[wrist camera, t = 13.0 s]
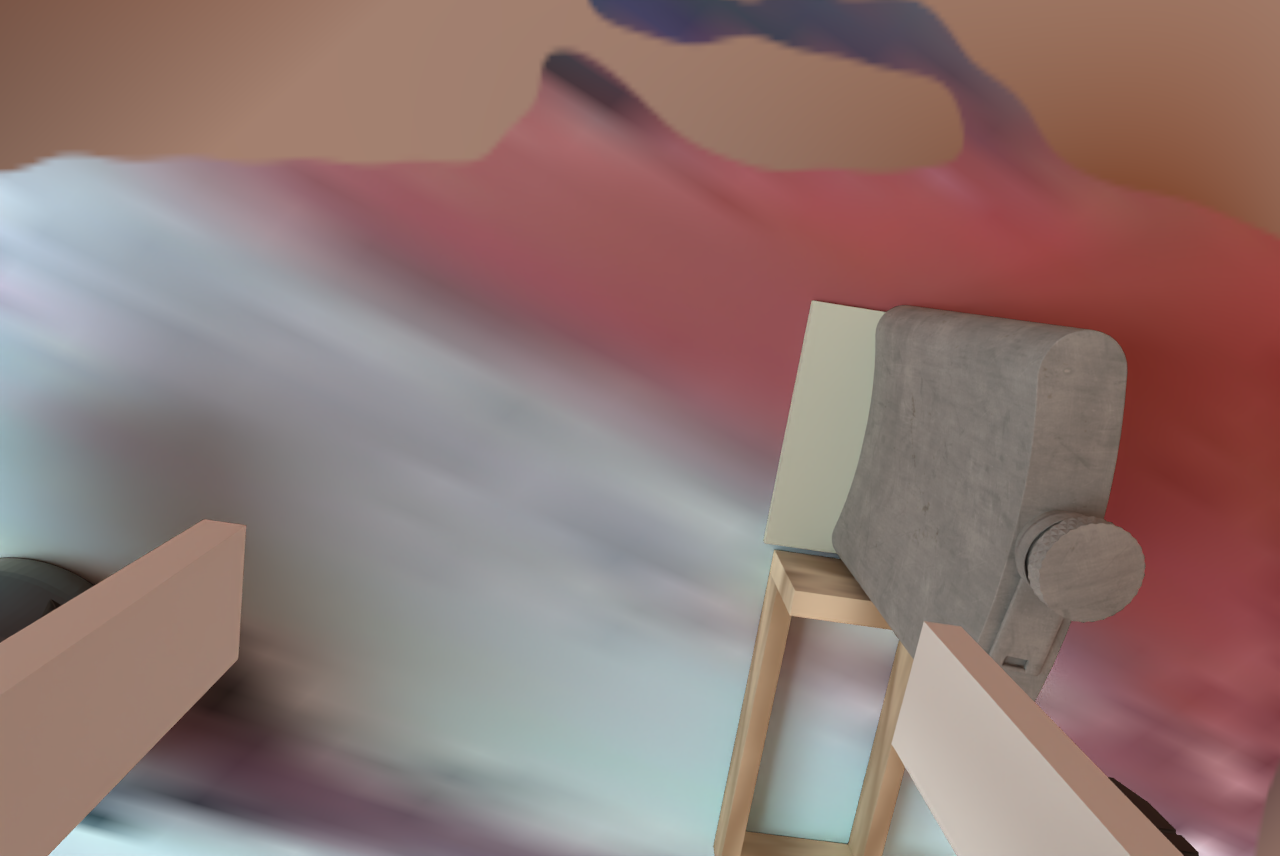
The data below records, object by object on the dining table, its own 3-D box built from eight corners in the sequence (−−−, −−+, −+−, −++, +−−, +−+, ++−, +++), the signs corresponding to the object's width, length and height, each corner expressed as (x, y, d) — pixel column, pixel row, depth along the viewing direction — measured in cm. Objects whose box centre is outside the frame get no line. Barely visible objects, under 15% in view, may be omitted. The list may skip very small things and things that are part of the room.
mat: (763, 540, 46) (764, 543, 45) (811, 300, 43) (813, 300, 42) (949, 567, 46) (952, 570, 46) (1010, 331, 43) (1014, 332, 43)
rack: (713, 846, 51) (724, 922, 45) (774, 549, 46) (794, 590, 40) (860, 864, 51) (889, 941, 45) (935, 572, 47) (978, 616, 41)
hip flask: (881, 301, 42) (1095, 329, 23) (949, 311, 43) (1220, 348, 23) (827, 557, 46) (972, 773, 26) (890, 566, 46) (1082, 787, 26)
